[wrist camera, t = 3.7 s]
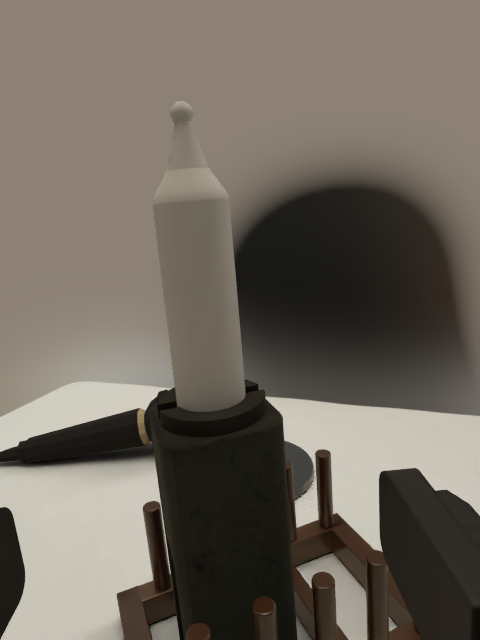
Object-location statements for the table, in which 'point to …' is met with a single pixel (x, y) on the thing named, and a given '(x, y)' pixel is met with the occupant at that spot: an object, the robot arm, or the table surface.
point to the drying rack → (310, 604)
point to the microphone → (87, 438)
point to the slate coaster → (299, 468)
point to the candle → (214, 418)
